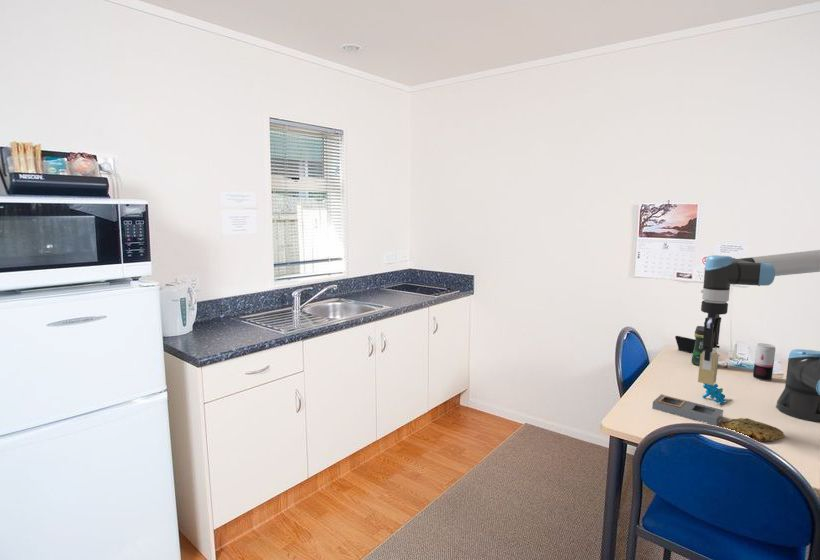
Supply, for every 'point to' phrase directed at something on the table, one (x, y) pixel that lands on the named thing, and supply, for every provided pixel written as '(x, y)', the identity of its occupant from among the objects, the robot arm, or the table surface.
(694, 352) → the coffee jar
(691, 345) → the game console
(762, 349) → the beverage can
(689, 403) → the grey block
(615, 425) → the table surface
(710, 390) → the blue irregular branched piece
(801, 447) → the table surface
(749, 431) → the pastry
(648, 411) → the table surface
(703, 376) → the brass peg
